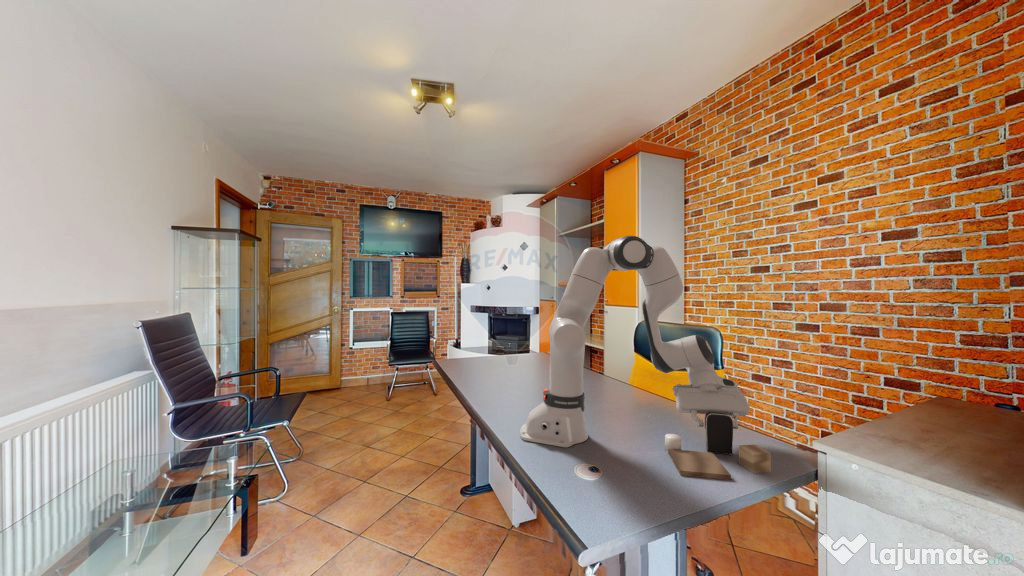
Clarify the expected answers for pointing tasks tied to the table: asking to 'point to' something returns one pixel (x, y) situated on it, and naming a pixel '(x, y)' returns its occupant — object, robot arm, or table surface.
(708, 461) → the walnut pad
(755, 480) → the table surface
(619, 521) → the table surface
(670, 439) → the plastic capsule
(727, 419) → the battery charger
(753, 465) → the oak cube
